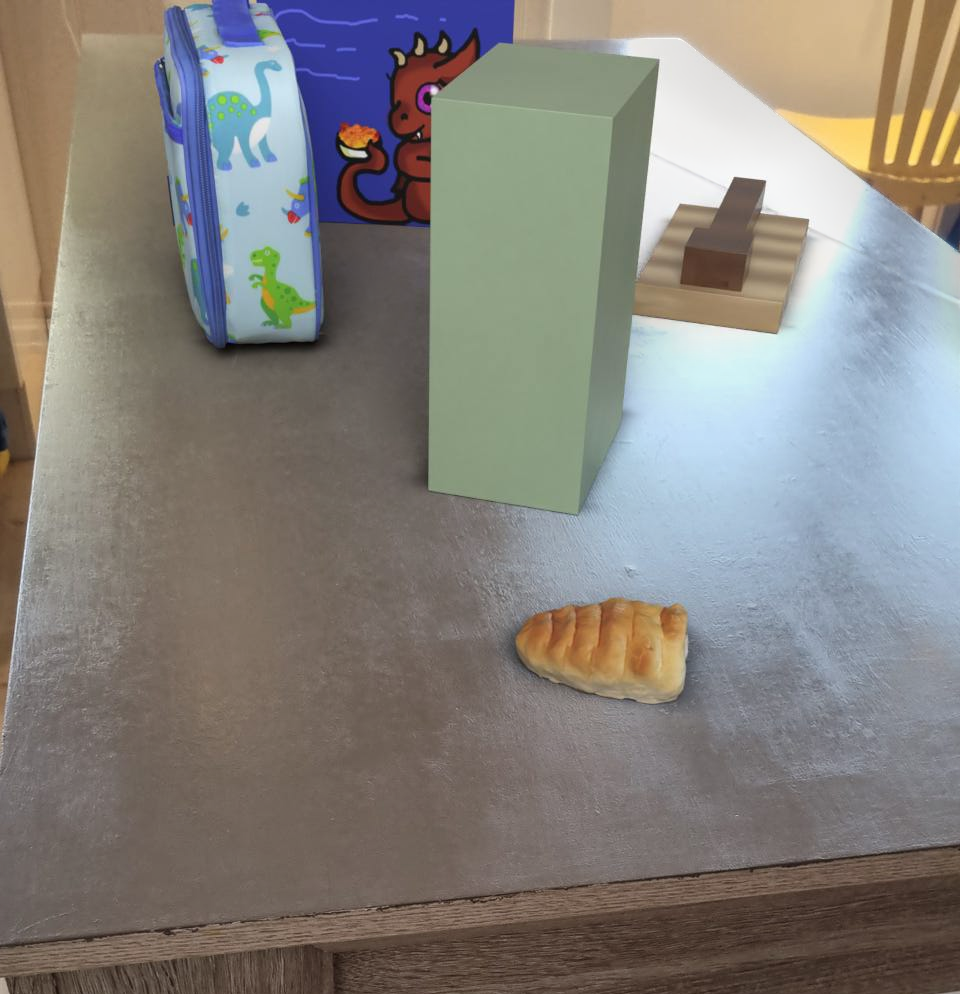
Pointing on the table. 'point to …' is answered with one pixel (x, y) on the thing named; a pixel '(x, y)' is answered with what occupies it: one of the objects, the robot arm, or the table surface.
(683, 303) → the maple board
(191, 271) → the lunch box
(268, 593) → the table surface
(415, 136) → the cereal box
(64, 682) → the table surface
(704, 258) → the walnut mallet
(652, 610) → the pastry
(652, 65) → the plinth
